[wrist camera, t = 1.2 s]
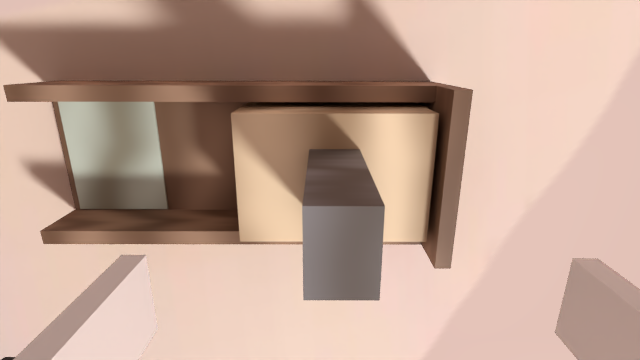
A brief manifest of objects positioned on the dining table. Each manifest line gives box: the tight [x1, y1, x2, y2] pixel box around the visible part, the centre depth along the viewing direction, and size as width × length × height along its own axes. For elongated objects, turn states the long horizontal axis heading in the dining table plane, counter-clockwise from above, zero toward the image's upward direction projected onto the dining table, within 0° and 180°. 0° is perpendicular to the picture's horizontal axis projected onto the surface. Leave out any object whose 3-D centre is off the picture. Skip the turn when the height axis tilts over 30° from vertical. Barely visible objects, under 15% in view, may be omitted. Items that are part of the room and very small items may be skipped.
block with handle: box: [231, 102, 439, 300], centre depth 21 cm, size 12×8×15 cm
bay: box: [3, 81, 473, 268], centre depth 26 cm, size 28×11×8 cm, turn 90°
